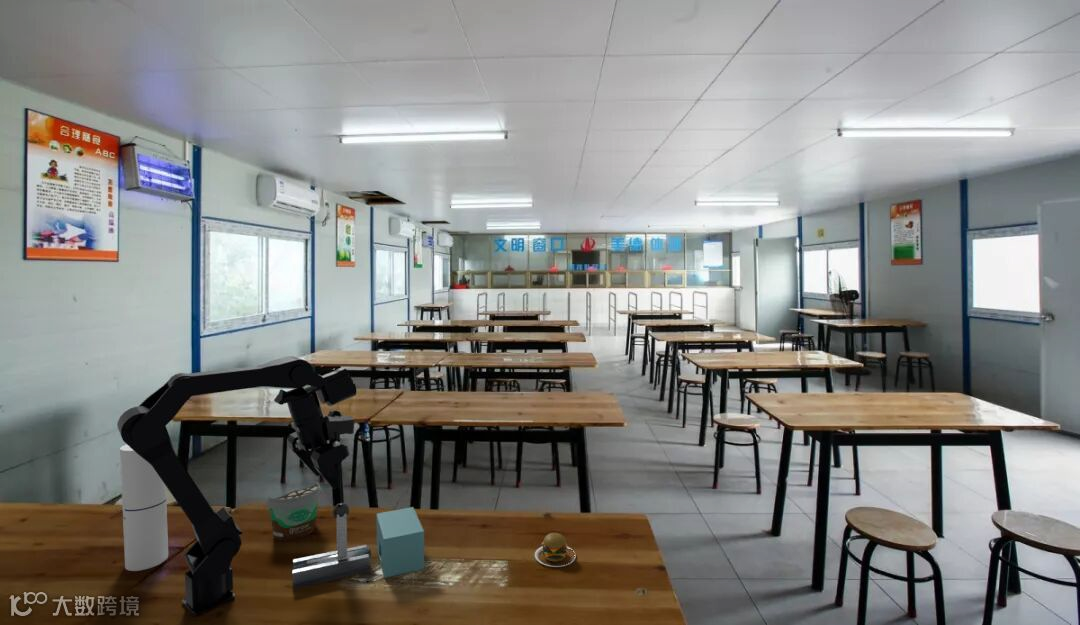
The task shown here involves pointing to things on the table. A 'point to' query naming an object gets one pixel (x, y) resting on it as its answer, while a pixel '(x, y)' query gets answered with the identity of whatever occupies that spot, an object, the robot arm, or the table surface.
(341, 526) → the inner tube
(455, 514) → the table surface
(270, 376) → the robot arm
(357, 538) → the table surface
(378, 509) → the table surface
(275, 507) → the food container
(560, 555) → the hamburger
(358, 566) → the outer sleeve
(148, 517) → the cylindrical container
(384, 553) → the socket block
